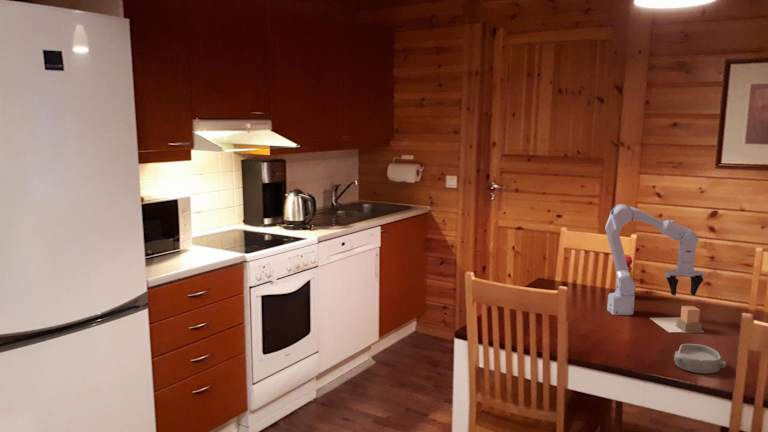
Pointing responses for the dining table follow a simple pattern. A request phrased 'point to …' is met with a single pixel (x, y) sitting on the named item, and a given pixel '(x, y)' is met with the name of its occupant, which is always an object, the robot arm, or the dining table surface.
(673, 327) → the board
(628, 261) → the stacking toy
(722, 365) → the dish
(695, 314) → the terracotta block
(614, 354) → the dining table surface
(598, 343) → the dining table surface
